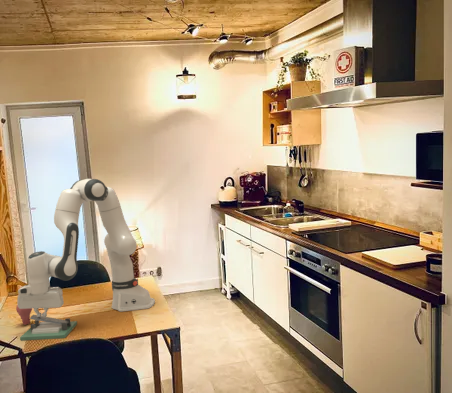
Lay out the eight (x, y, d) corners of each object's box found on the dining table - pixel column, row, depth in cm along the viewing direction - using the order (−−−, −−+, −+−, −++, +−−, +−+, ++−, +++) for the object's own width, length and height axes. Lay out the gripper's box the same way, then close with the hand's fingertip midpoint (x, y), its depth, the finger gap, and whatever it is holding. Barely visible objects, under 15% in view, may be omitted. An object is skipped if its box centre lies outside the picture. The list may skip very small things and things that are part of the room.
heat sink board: (77, 324, 219) (76, 314, 219) (64, 338, 203) (63, 327, 203) (35, 326, 220) (34, 316, 219) (20, 340, 204) (19, 329, 203)
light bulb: (18, 328, 218) (15, 304, 217) (18, 323, 225) (15, 300, 223) (34, 325, 221) (31, 301, 220) (34, 320, 227) (31, 297, 226)
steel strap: (68, 323, 213) (69, 320, 212) (66, 326, 210) (66, 322, 209) (33, 317, 212) (33, 313, 212) (30, 319, 209) (30, 316, 209)
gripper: (64, 284, 212) (66, 313, 213) (21, 286, 213) (23, 315, 214) (59, 288, 206) (61, 318, 207) (14, 290, 206) (17, 320, 208)
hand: (41, 316), depth 210 cm, fingers closed
